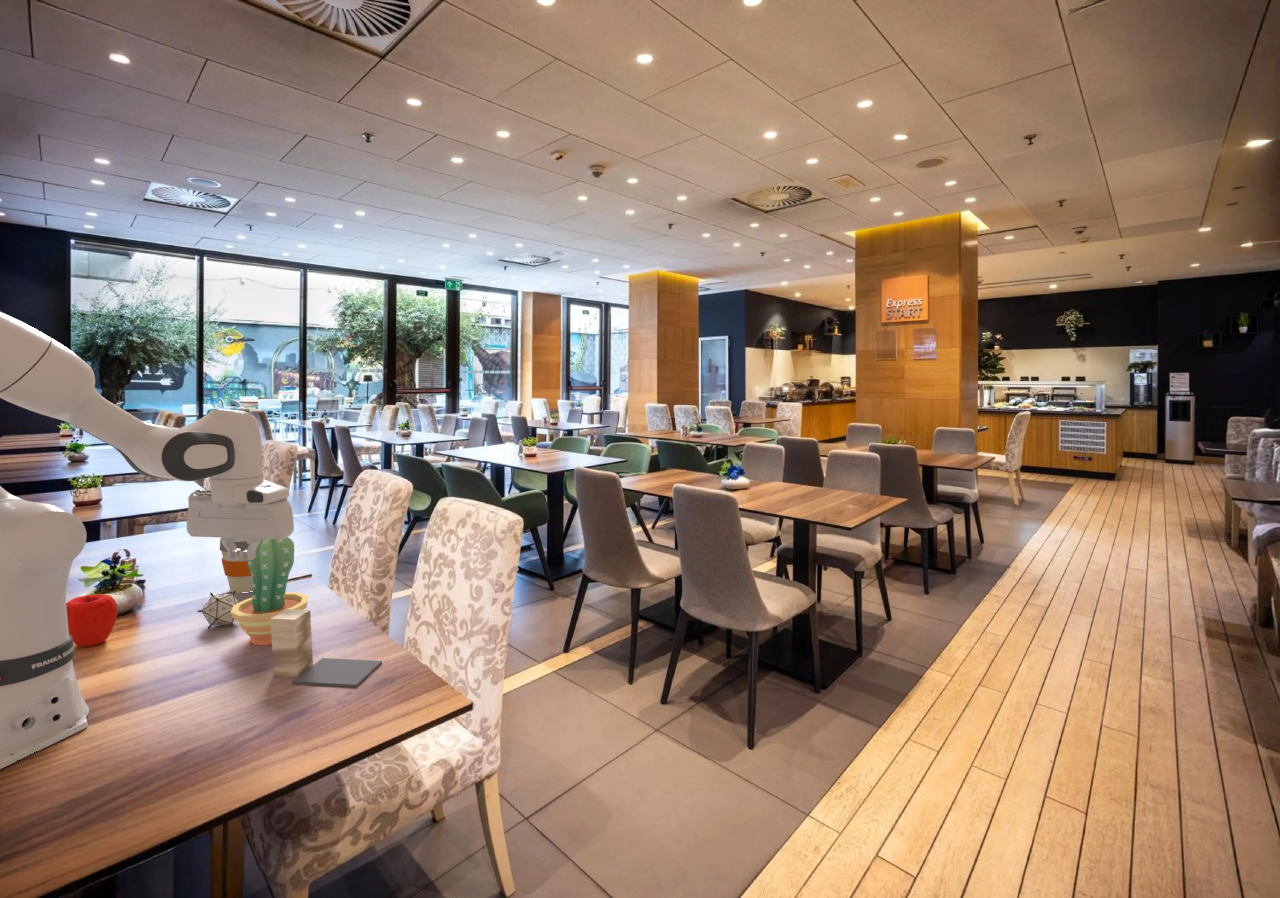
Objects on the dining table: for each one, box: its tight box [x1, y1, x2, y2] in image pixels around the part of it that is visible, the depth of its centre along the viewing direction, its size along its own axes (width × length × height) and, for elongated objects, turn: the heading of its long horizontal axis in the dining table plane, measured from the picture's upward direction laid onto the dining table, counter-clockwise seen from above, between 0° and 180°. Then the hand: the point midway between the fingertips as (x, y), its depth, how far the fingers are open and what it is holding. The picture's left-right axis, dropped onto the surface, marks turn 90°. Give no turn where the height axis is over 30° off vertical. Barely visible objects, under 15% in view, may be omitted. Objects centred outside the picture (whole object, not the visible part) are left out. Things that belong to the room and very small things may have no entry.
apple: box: [66, 593, 119, 648], centre depth 135 cm, size 9×9×11 cm
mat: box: [291, 657, 383, 688], centre depth 123 cm, size 10×13×1 cm
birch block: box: [271, 609, 314, 679], centre depth 123 cm, size 5×5×12 cm
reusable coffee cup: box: [219, 537, 253, 594], centre depth 170 cm, size 13×13×15 cm
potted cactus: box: [231, 536, 309, 646], centre depth 138 cm, size 15×15×25 cm
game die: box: [197, 590, 240, 630], centre depth 145 cm, size 9×8×10 cm
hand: (242, 558), depth 122 cm, fingers closed
